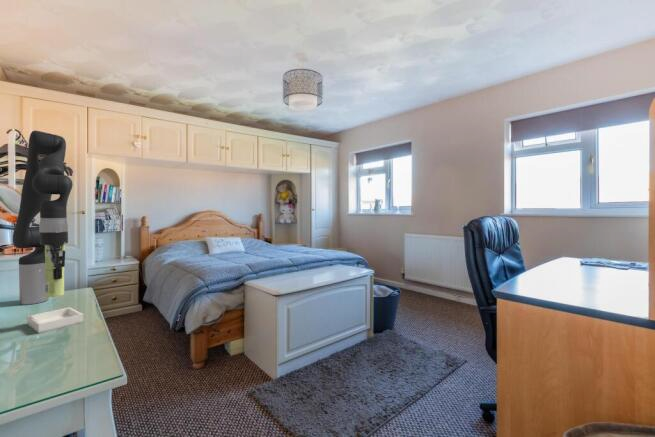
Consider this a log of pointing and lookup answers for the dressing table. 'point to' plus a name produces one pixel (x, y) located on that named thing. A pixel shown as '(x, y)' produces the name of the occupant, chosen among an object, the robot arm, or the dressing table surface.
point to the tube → (52, 285)
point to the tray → (54, 319)
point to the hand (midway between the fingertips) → (55, 277)
